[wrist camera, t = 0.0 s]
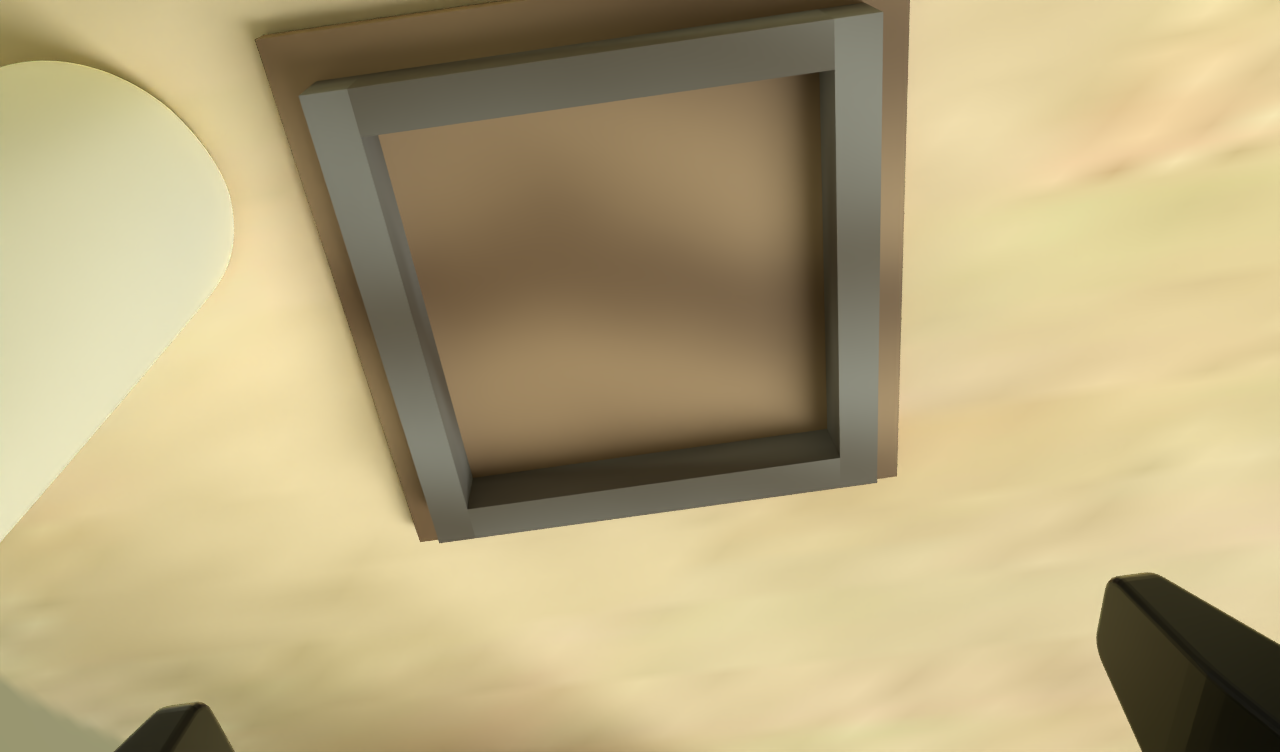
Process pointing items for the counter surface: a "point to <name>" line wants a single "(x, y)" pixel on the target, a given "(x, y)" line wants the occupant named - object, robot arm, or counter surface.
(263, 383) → the counter surface
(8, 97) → the can
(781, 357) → the holder
